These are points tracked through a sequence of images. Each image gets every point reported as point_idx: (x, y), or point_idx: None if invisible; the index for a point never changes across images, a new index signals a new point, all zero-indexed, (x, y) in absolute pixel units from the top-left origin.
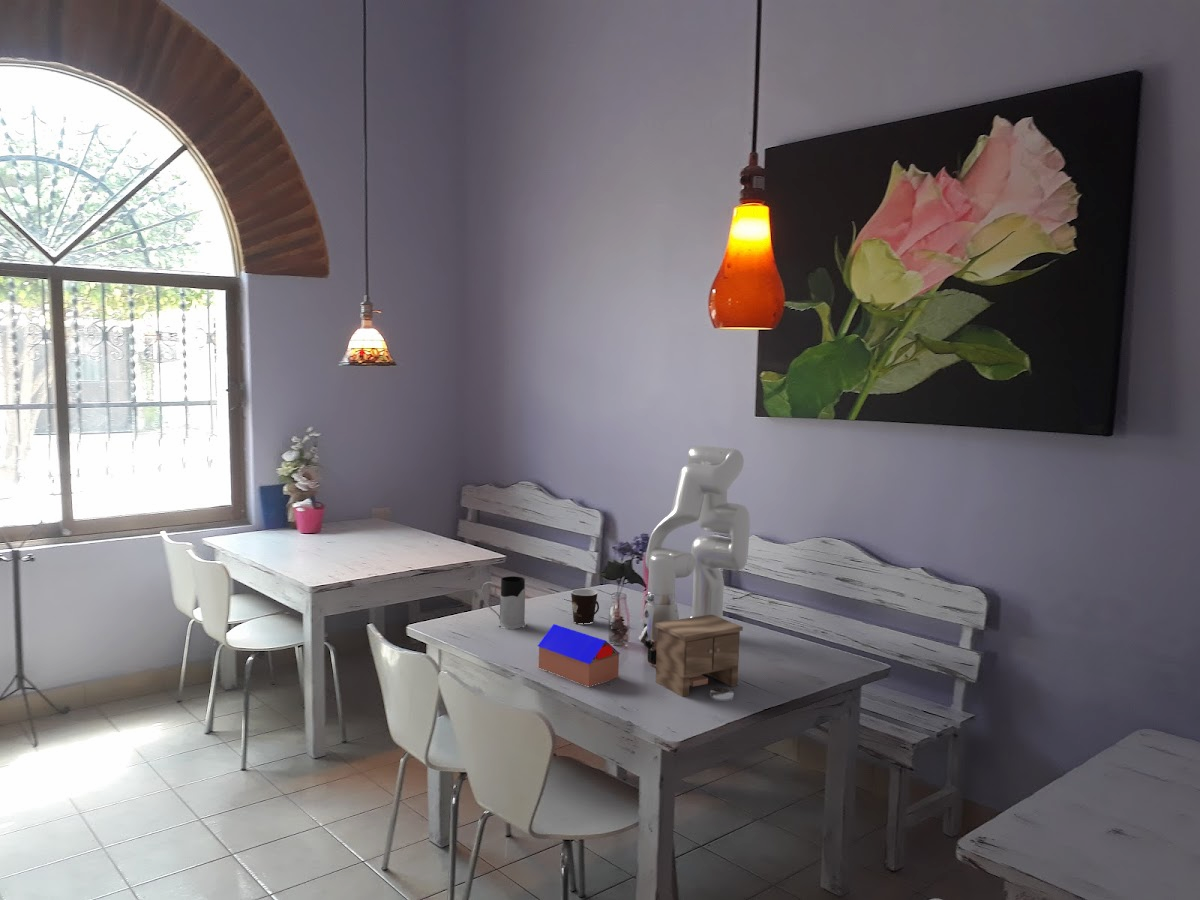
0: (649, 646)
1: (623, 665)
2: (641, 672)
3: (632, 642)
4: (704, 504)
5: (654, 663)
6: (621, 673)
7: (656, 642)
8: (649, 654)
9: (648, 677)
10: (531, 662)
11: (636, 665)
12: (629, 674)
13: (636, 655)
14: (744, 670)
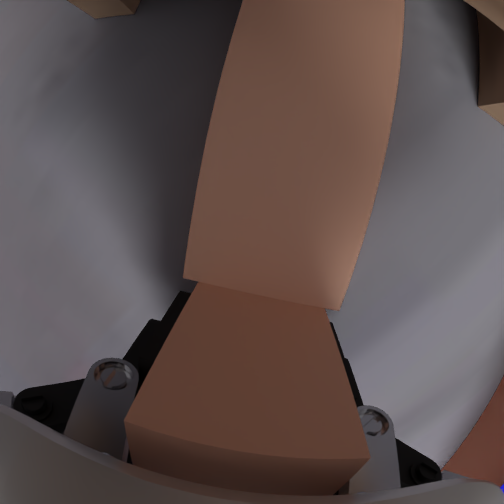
0: (399, 452)
1: (402, 410)
2: (450, 293)
3: None
4: None
5: (332, 324)
6: (496, 337)
7: (346, 481)
8: None
9: (488, 205)
10: None
11: (366, 387)
12: (495, 307)
13: None
14: (5, 3)
